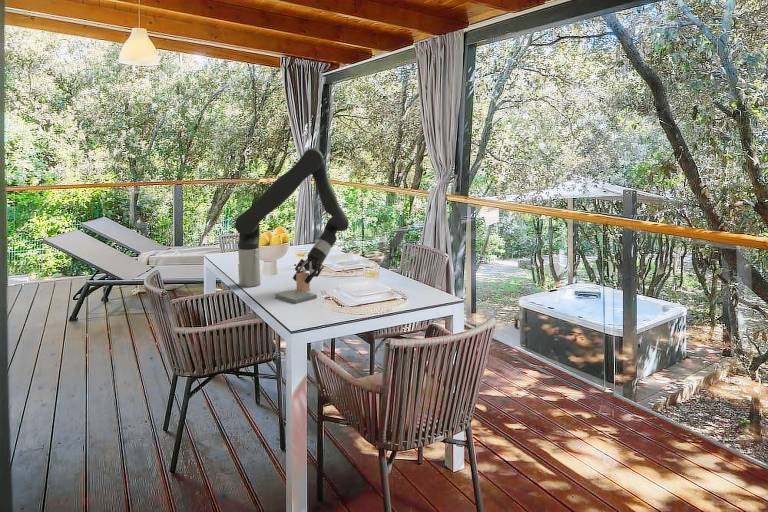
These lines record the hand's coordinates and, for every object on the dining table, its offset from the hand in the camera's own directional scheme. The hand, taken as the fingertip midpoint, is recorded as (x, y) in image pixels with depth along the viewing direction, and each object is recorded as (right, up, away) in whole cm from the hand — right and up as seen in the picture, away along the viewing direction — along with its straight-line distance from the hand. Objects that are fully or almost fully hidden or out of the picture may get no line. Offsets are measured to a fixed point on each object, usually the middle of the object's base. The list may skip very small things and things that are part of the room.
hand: (300, 281), depth 239 cm
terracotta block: (+1, -4, +2) cm, 5 cm away
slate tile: (0, -6, -10) cm, 12 cm away
